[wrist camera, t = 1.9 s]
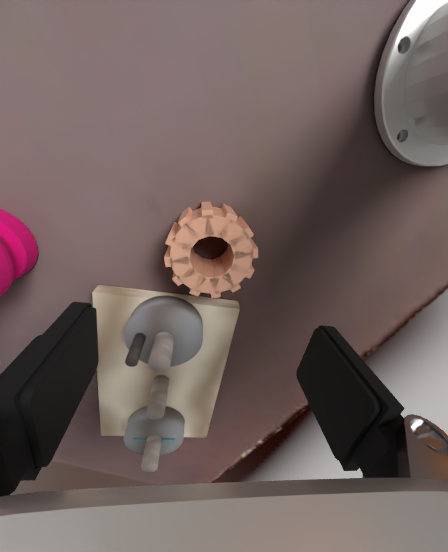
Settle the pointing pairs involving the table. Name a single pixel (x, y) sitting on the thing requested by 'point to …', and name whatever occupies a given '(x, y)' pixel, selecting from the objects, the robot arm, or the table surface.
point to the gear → (210, 272)
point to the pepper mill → (15, 250)
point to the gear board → (140, 377)
